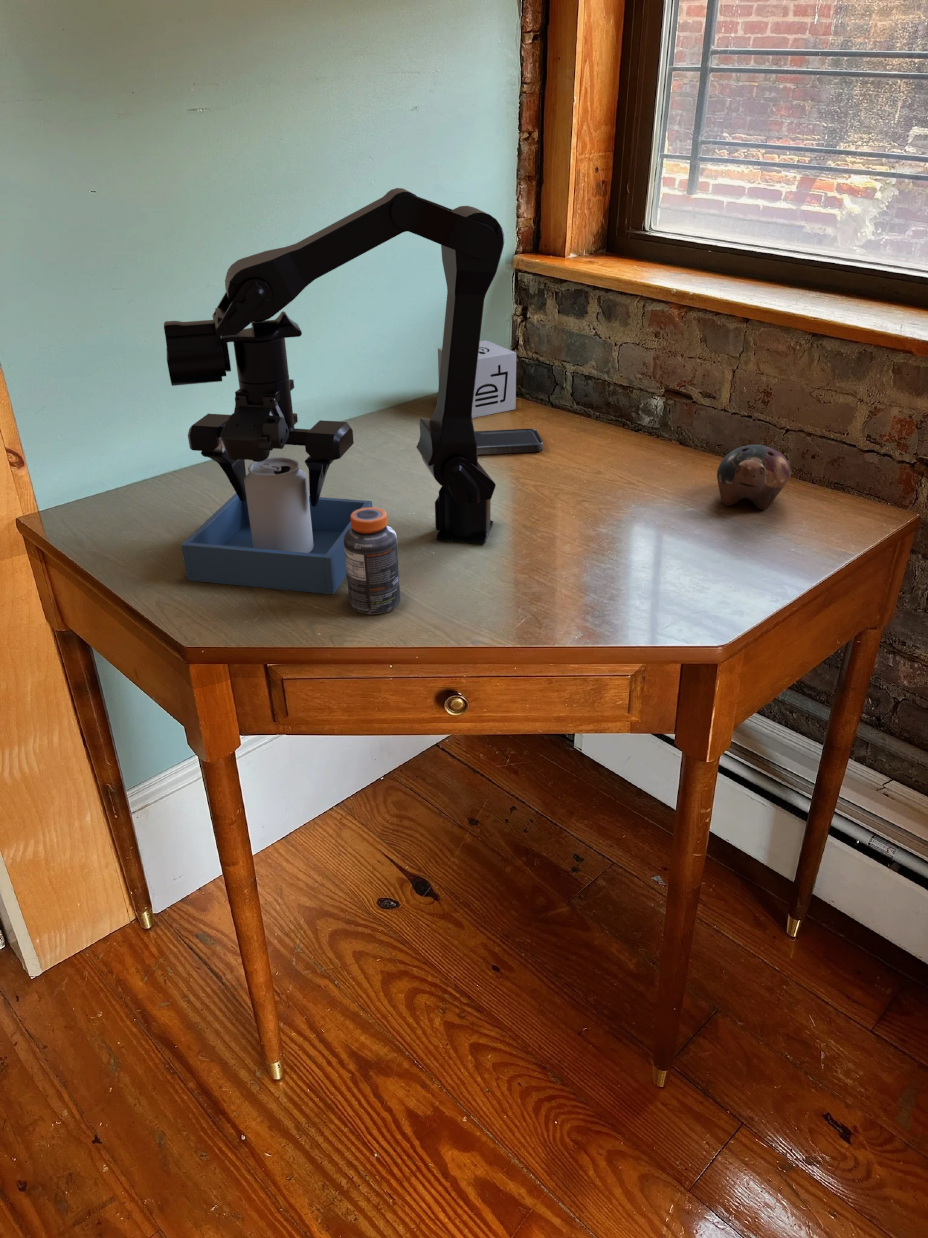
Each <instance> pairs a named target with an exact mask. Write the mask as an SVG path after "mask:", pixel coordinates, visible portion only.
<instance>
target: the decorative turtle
mask: <svg viewBox="0 0 928 1238" xmlns="http://www.w3.org/2000/svg"><path fill="white" fill-rule="evenodd" d="M790 477H791V466H790V463H789V461H788V459H787V458H786V456H784V454H782V453H781V452H780V451H778V450H777V449H774V448H772V447H770V446H767V445H763V444H747V445H743V446H739V447H737V448H735V449H733V450H732V451H730V452H729V453H727V454H726V455H725V456H724V457H723V458H722V460H721V462H720V463H719V465H718V468H717V470H716V479H717V485H718V490H719V493H720V498H721V502H722V504H724V506H726V507H730V506H733V505H734V504H736V503H738V501H740V500H741V499H748V500H749V501H751V502H752V503H753V504H754V505H755V506H756V508H757V509H759V510H760V511H766V510H768V509H769V508H770V507H771V506H772V504H773V503H774V501H775V500H776V498H777V496H778V495H779V494H780V493H781V491H782V490H783V489H784V487H785V486H786V485H787V484H788V482H789V479H790Z"/></svg>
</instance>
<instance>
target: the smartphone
mask: <svg viewBox="0 0 928 1238" xmlns="http://www.w3.org/2000/svg"><path fill="white" fill-rule="evenodd" d="M474 432H475V437H476V443H477V456H479V455H480V456H481V455H497V454H499V455H500V454H517V453H518V454H519V453H537V452H538V453H539V452H542V451H544V450H543V449H544V442H543V439H542V438H541V436H540V434H539V432H538V430H537V429H535V428H515V429H513V428H511V429H493V430H474Z"/></svg>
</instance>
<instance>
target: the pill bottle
mask: <svg viewBox="0 0 928 1238" xmlns="http://www.w3.org/2000/svg"><path fill="white" fill-rule="evenodd" d="M350 517H351V527H352V528H350V529H349V530H348V531H347V532H346V534H345V536H344V550H345V561H346V572H347V575H346V580H347V591H348V602H349V605H350V607H351V608H352V610H354V611H355V612H358V613H361V614H363V615H364V614H365V615H381V614H385V613H388V612H391V611H392V610H394V609H395V608H397V607H398V606H399V605H400V603H401V601H402V600H401V599H402V597H401V584H400V567H399V566H400V564H399V550H398V549H399V548H398V537H397V536H398V535H397V533H396V531H395V530H394V528H392V527H391V526H389V525H388V523H389V522H388V521H389V520H388V514H387V512H386V510H384V509H383V508H380V507H374V506H372V507H367V508H361V509H358V510H355V511H354V512H352V514H351V516H350Z"/></svg>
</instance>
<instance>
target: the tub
mask: <svg viewBox="0 0 928 1238" xmlns="http://www.w3.org/2000/svg"><path fill="white" fill-rule="evenodd" d="M309 504H310V514H311V524H312V534H313V544H314V547H313V549H312V551H311V552H309V553H302V552H291V551H280V550H268V549H257V548H253V542H252V534H251V527H250V520H249V512H248V505H247V499H246V500H245V501H240V499H239V497H238V495H237V493H236V492H235V493H234V494H233V495H232V496H231V497H230V498H229V499H228V500H227V501H226V502H224V504H223V505H221V506H220V507H219V508H218V509H217V510H216V511H215V512H214V513H213V514H212V515H211V516H210V517H208V518H207V519H206V521H205V522H203V523H202V524H201V525H200V526H199V527H198V528H197V529H196V530H195V531H194V532H193V533H191V534H190V535H189V536H188V538H186V539H185V540H184V541H183V542H182V543H181V544H180V548H181V553H182V557H183V558H182V560H183V563H184V569H185V576H186V580H187V581H189V582H202V583H209V584H210V583H211V584H221V585H231V586H241V587H242V586H243V587H251V588H252V587H254V588H264V589H272V590H273V589H274V590H284V591H295V592H304V593H314V594H315V593H316V594H323V595H324V594H325V595H334V594H335V593H336V592H337V589H339V587H340V585H341V584H342V582H343V581H344V579H345V578H347V572H346V561H345V550H344V536H345V534H346V532H347V531H348V530H349V529H350V528H352V527H351V517H350V516H351V514H352V512H354V511H355V510H358V509H361V508H367V507H373V500H365V499H364V500H362V499H350V498H339V497H338V498H336V497H324V496H320V497H319V500H318V503H317V505H316V506H315V507H312V506H311V501H310V495H309Z"/></svg>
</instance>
